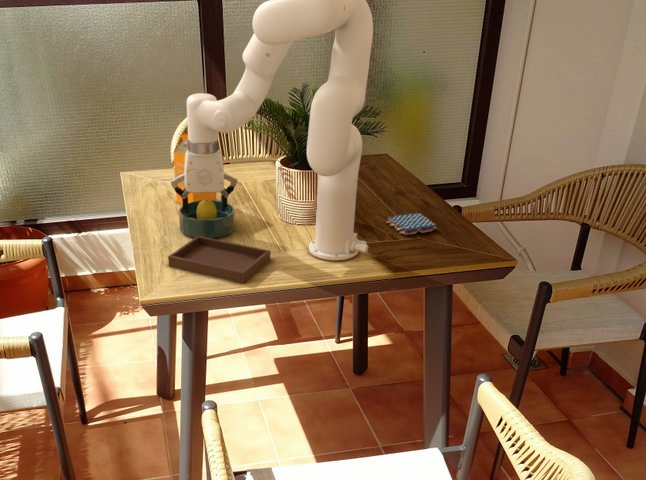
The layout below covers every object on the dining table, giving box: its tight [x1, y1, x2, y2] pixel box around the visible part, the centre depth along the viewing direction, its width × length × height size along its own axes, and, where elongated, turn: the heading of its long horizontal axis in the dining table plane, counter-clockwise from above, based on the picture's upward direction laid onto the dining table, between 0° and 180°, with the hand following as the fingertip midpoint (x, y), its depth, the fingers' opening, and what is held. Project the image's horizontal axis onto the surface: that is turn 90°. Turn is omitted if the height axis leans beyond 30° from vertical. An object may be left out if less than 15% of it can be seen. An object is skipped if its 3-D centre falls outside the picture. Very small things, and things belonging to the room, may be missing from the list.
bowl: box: [178, 199, 236, 239], centre depth 195 cm, size 15×15×6 cm
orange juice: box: [172, 132, 217, 205], centre depth 208 cm, size 8×9×20 cm
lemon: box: [196, 199, 217, 220], centre depth 194 cm, size 6×6×8 cm
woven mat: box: [386, 212, 438, 236], centre depth 198 cm, size 10×11×2 cm
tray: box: [167, 236, 271, 284], centre depth 178 cm, size 21×14×3 cm
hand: (205, 210), depth 194 cm, fingers open, 9 cm apart
